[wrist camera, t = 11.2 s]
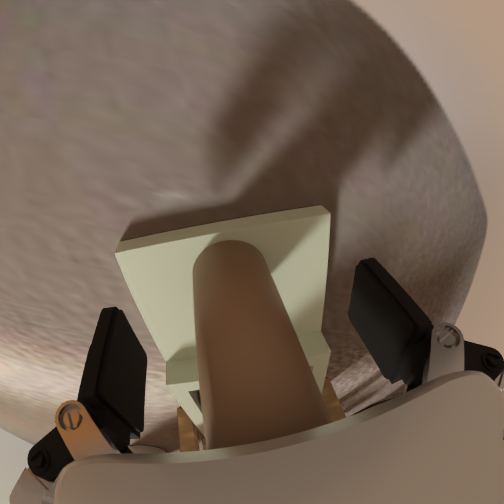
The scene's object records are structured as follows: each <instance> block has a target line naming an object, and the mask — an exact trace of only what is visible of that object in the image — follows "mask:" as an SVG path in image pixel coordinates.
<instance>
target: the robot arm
mask: <svg viewBox="0 0 504 504" xmlns="http://www.w3.org/2000/svg"><path fill="white" fill-rule="evenodd" d="M348 314H349V319H350V321H351V322H352V324H353V326H354V327H355V329H356V331H357V332H358V334H359V335H360V337H361V339H362V340H363V342H364V344H365V345H366V347H367V349H368V350H369V352H370V354H371V355H372V357H373V359H374V360H375V362H376V364H377V366H378V367H379V369H380V371H381V372H382V374H383V376H384V377H385V378H386V379H389V380H390V382H391V384H393V383H395V382H397V381H399V380H403V382H404V383H405V386H404V391H403V394H402V395H400V396H398V397H395V398H393V399H391V400H389V401H386V402H383V403H380V404H377V405H375V406H373V407H370V408H368V409H366V410H364V411H362V412H360V413H357V414H355V415H352V416H349V417H347V418H344V419H341V420H338V421H335V422H332V423H329V424H326V425H323V426H320V427H317V428H313V429H310V430H306V431H303V432H299V433H296V434H292V435H288V436H284V437H280V438H275V439H271V440H266V441H261V442H256V443H251V444H245V445H239V446H233V447H226V448H219V449H211V450H201V451H190V452H173V453H135V451H134V450H133V449H132V448H131V447H130V446H129V445H130V439H140V432H143V430H144V403H145V384H146V370H147V356H146V353H145V351H144V349H143V348H142V346H141V344H140V342H139V340H138V339H137V337H136V335H135V333H134V331H133V330H132V328H131V326H130V324H129V322H128V320H127V318H126V316H125V314H124V313H123V311H122V310H119V309H118V308H117V307H110V308H103V309H102V311H101V314H100V317H99V320H98V323H97V327H96V330H95V333H94V337H93V340H92V344H91V346H90V348H89V352H88V355H87V359H86V363H85V367H84V371H83V376H82V380H81V384H80V389H79V394H78V399H77V401H75V400H70V401H66V402H65V403H63V404H62V405H61V406H60V407H59V408H58V410H57V412H56V415H55V423H56V427H55V428H54V429H53V430H52V431H51V432H49V433H48V434H47V435H46V436H45V437H44V438H42V439H41V440H40V441H39V442H38V443H37V444H35V445H34V446H33V447H32V448H31V450H30V451H29V454H28V465H29V469H28V468H25V469H24V471H23V473H22V474H21V476H20V478H19V480H18V481H17V483H16V485H15V487H14V489H13V491H12V493H11V495H10V504H504V360H503V357H502V355H501V354H500V353H499V352H498V351H497V350H496V349H494V348H491V347H487V346H483V345H480V344H476V343H472V342H468V341H465V340H464V338H463V335H462V333H461V331H460V330H459V329H458V328H457V327H456V326H454V325H453V324H450V323H439V324H437V325H435V327H433V325H432V324H431V323H432V322H431V321H430V319H429V318H428V317H427V316H426V315H425V313H424V312H423V311H422V310H421V309H420V308H419V306H418V305H417V304H416V303H415V302H414V301H413V299H412V298H411V297H410V296H409V295H408V294H407V293H406V291H405V290H404V289H403V288H402V287H401V286H400V285H399V284H398V283H397V281H396V280H395V279H394V278H393V277H392V276H391V275H390V274H389V273H388V272H387V271H386V270H385V269H384V267H383V266H382V265H381V264H380V263H379V262H378V261H377V260H376V259H375V258H368V259H364V260H361V261H360V262H359V264H358V265H357V266H356V269H355V276H354V283H353V289H352V295H351V301H350V307H349V313H348Z"/></svg>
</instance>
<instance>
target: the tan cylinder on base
mask: <svg viewBox="0 0 504 504" xmlns="http://www.w3.org/2000/svg"><path fill="white" fill-rule="evenodd" d="M330 216H331V214H330V213H329V212H328V211H327V210H326V209H325V208H324V207H323V206H322V205H318V206H312V207H305V208H298V209H292V210H285V211H279V212H273V213H267V214H261V215H255V216H249V217H243V218H237V219H232V220H226V221H220V222H215V223H210V224H204V225H199V226H194V227H188V228H183V229H178V230H173V231H168V232H163V233H158V234H153V235H149V236H144V237H139V238H134V239H130V240H125V241H121V242H119V244H118V246H117V249H116V251H115V256H116V258H117V261H118V263H119V266H120V268H121V271H122V273H123V275H124V278H125V280H126V282H127V285H128V287H129V289H130V292H131V294H132V296H133V298H134V300H135V302H136V305H137V307H138V309H139V311H140V313H141V315H142V317H143V319H144V321H145V323H146V325H147V327H148V329H149V331H150V333H151V335H152V337H153V339H154V341H155V343H156V345H157V346H158V348H159V350H160V352H161V354H162V356H163V357H164V359H165V361H166V386H167V387H168V389H169V390H170V391H171V393H172V394H173V396H174V397H175V399H176V400H177V401H178V403H179V404H180V406H181V407H182V408H183V410H184V411H185V412H186V414H187V415H188V416H189V418H190V419H191V420H192V421H193V423H194V424H195V425H196V427H197V428H198V429H199V430H200V432H201V433H202V434H203V435H204V437H205V439H206V446H207V450H211V449H219V448H226V447H233V446H239V445H245V444H251V443H256V442H261V441H266V440H271V439H275V438H280V437H284V436H288V435H292V434H296V433H299V432H303V431H306V430H310V429H313V428H317V427H320V426H323V425H326V424H329V423H332V422H333V421H332V419H331V417H330V414H329V412H328V409H327V407H326V404H325V402H324V399H323V397H322V395H321V394H322V389H323V385H324V381H325V377H326V372H327V368H328V363H329V359H330V354H331V350H330V348H329V346H328V344H327V342H326V340H325V338H324V336H323V334H322V332H321V326H322V318H323V309H324V299H325V289H326V278H327V266H328V253H329V237H330Z"/></svg>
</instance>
